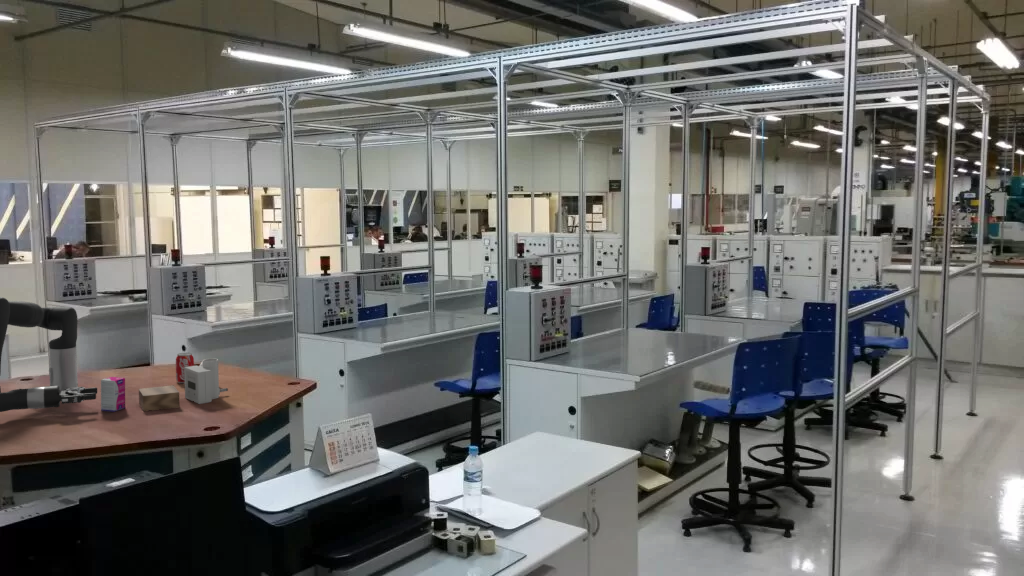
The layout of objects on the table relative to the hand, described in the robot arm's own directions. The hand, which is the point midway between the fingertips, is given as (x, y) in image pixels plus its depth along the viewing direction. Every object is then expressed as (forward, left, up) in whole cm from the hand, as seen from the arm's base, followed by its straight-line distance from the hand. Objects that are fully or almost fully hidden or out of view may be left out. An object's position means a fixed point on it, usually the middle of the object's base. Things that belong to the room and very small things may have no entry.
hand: (96, 393), depth 269 cm
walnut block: (+20, 0, -7) cm, 21 cm away
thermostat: (+38, +5, -7) cm, 39 cm away
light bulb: (+39, +26, -7) cm, 48 cm away
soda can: (+31, +36, -7) cm, 48 cm away
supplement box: (+5, 0, -7) cm, 9 cm away
